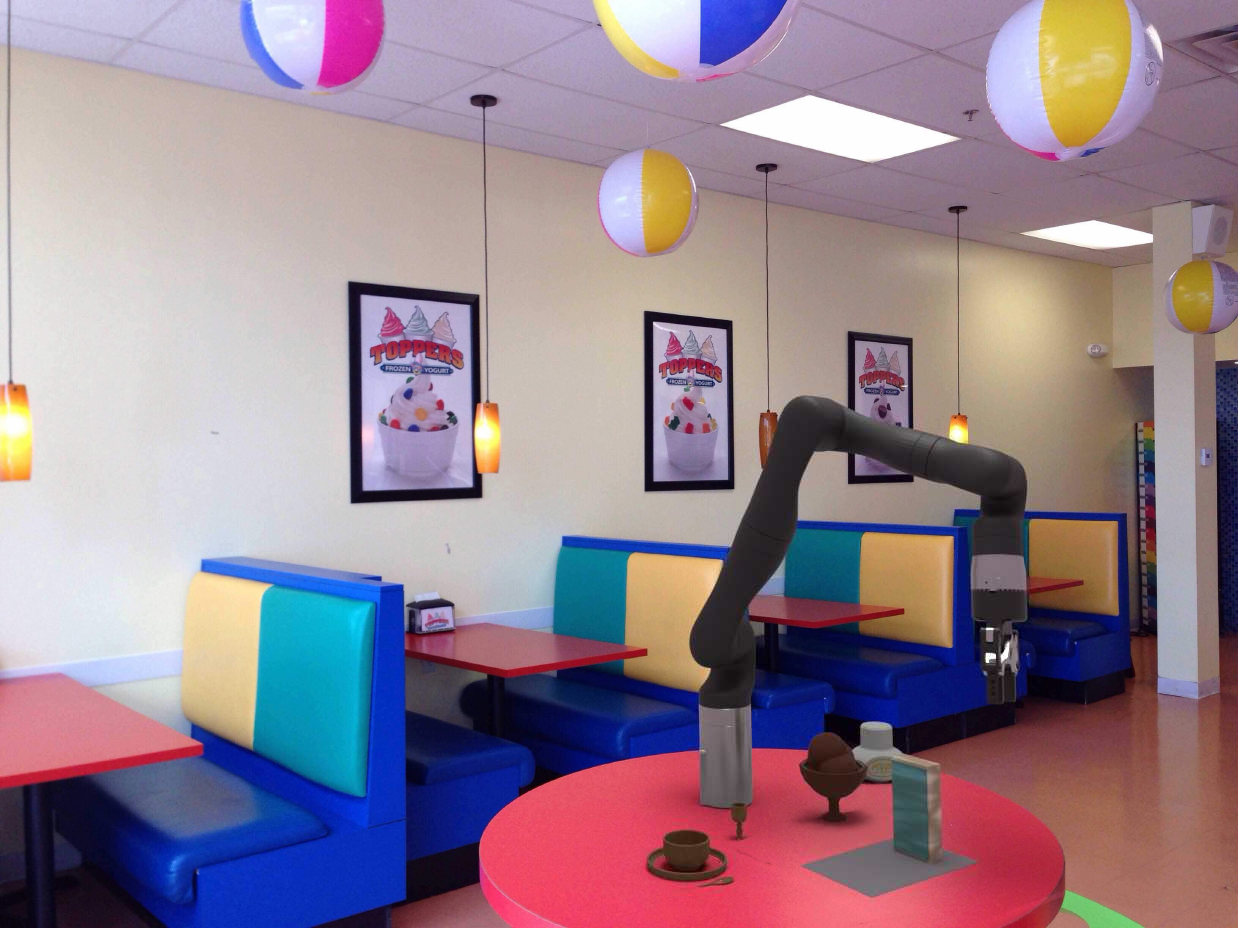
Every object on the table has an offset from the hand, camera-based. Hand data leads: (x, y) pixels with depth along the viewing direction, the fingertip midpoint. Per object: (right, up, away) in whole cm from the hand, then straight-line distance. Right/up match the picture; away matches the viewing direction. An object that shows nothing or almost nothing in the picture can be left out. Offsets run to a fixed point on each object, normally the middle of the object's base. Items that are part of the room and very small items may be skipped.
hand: (1001, 702), depth 145 cm
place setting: (-41, -27, +8) cm, 49 cm away
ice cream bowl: (-19, -26, +24) cm, 40 cm away
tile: (-10, -24, +7) cm, 27 cm away
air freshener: (-5, -26, +49) cm, 56 cm away
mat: (-15, -25, +4) cm, 29 cm away
